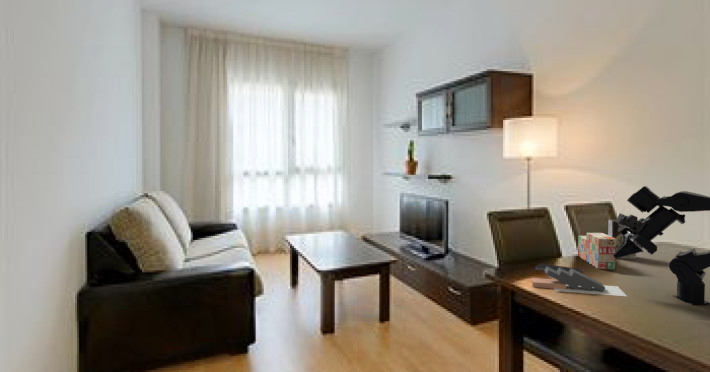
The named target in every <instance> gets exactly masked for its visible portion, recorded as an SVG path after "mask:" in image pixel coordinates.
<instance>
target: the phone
mask: <svg viewBox="0 0 710 372" xmlns="http://www.w3.org/2000/svg"><path fill="white" fill-rule="evenodd" d="M546 266H547V267H549V268H551V269H553V270H555V271H557V270H558V268H559V267H560V268H562V269H563V270H565V271H567V272H569V271H570V269H571V268H572V269H574V270H576V271H578V272H580V273H582V269H580V268H576V267H575V268H574V267H567V266H562V265H555V264H549V263H539V264H538V265H536V266H535V267H534V268H535V269H534V270H537V271H545V268H546Z"/></svg>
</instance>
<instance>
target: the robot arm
mask: <svg viewBox="0 0 710 372" xmlns="http://www.w3.org/2000/svg"><path fill="white" fill-rule="evenodd" d="M626 201H627V202H628V203H630V204H631V205H632V206H634V208H636V209H637V210H639V211H640V212H641V213H647V214H649V215H648V216H647V217H645V218H643V217H642V218H640V219H639V218H638V216H636V215H633V214H629V215H625V214H623V213H621V212H620V213H619V214H618V216H617V218H616V221H615V222H617V223H618V224H621V225H625V226H622V227H620V228H619V229H618V231H619V232H620V233H621V236H622V242H621V244H620V245H619V247H618V248H617V250H616V251H615V253H614V254H613V256H614V257H615V259H620V258H619V257H623V256H626V255H630V254H634V253H636V254H637V253H638V254H639V253H643V252H644V250H643V249H645V250H646V252H647V254H650V255H652V256H653V254H655V253H656V252H658V246H657V245H656V244H655V243H654V242H653V240H654V239H655V238H657V236H660V237H662V236H663V235H664V231H665V230H667V229H668V228H669V227H670V226H671V225H673V224H674V223H675V222H676V221H677V222H678V223H680V225H684V224H685V223H686V220H685V219H686V214H684V212H685V213H687V212H688V213H689V212H690V213H691V212H693V213H694V212H707V211H708V212H710V196H707V195H704V194H701V193H696V192H693V191H687V190H682V191H678V192H675V193H674V194H673V195H669V196H666V195H664V196H661V197H660V196H658V194H656V193H655V192H653V191H652V190H651V189H650V188H649V187H648V186H646V185H643V187H641V188H639V190H637V191H636V192H634V193H633V194H632V195H630V196H629V197H628V198H627V200H626ZM667 207H668V208H667ZM669 207H670V208H669ZM654 209H655V210H654ZM653 210H654V211H653ZM652 211H653V212H652ZM650 212H651V213H650ZM680 213H681V214H680ZM682 213H683V214H682ZM668 267H669V270H670V271H671V273H672V274H674V275H675V276H676V278H677V283H676V295H672V297H673V298H675V299H677V300H679V301H682V302H683V303H686V304H691V305H710V301H707V300H705V298H706V297H705V296H706V294H705V293H706V283H705V282H704V281H703V280H704V278H705V276H706V274H707V273H706V271H705V269H707V268H710V250H709V251H703V252H697V250H696V247H694V248H691V249H689V250H687V251H679V252H677V254H676V255H675V256H674V257H673V258H672V259H671V260H670V262H669V264H668Z"/></svg>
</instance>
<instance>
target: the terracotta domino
mask: <svg viewBox="0 0 710 372" xmlns="http://www.w3.org/2000/svg"><path fill="white" fill-rule="evenodd" d="M531 285H532V288H533V287H534V288H543V289H546V288H547V289H554V288H555V289H566V284H564V283H562V282H560V281H559V280H557V279H555V278H539V277H538V278H536V277H531Z"/></svg>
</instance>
